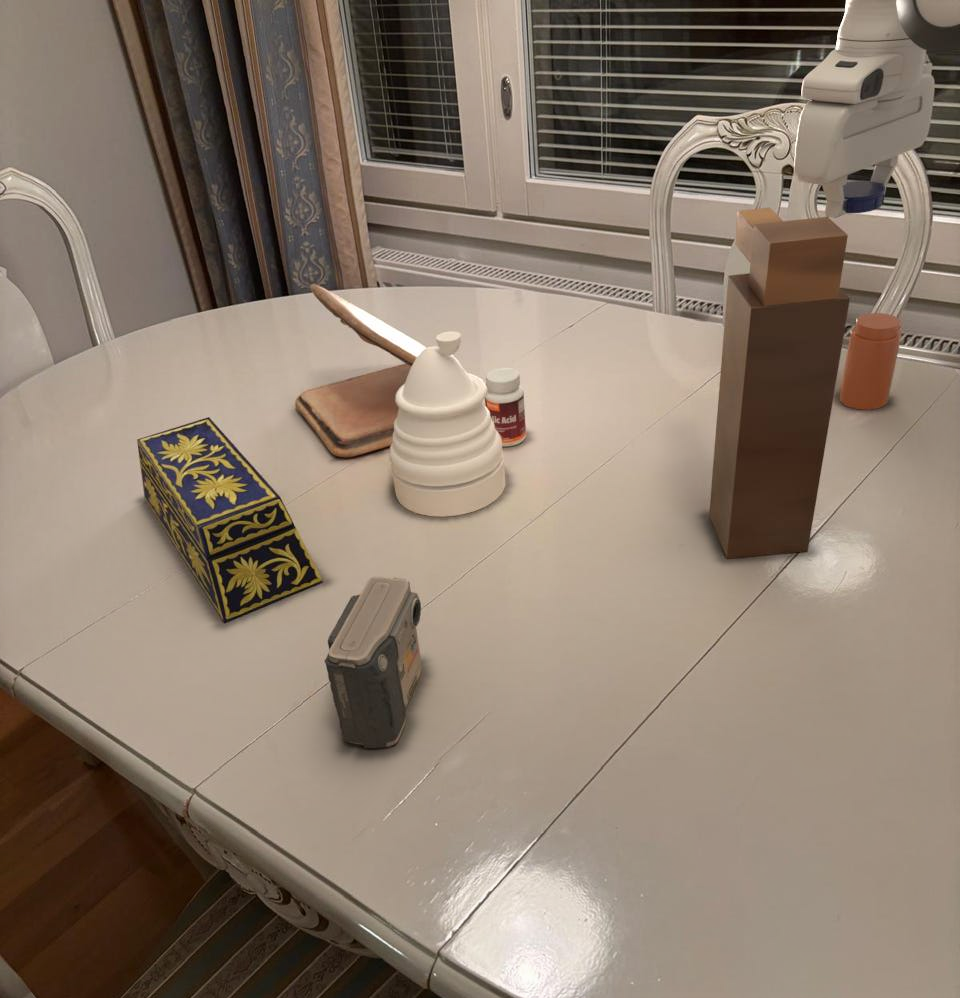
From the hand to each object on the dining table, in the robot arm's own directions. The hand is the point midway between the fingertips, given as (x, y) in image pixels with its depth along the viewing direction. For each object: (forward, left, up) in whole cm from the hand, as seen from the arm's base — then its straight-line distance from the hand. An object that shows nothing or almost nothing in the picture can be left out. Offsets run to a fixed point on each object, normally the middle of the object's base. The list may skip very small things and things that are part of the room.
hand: (854, 207), depth 104 cm
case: (+37, +44, -21) cm, 61 cm away
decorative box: (+25, +74, -21) cm, 81 cm away
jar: (-6, +1, -21) cm, 22 cm away
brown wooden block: (-12, +31, +4) cm, 34 cm away
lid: (0, 0, +2) cm, 2 cm away
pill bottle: (+19, +38, -21) cm, 47 cm away
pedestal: (-16, +34, -21) cm, 43 cm away
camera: (-10, +76, -21) cm, 79 cm away
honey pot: (+15, +50, -21) cm, 56 cm away
